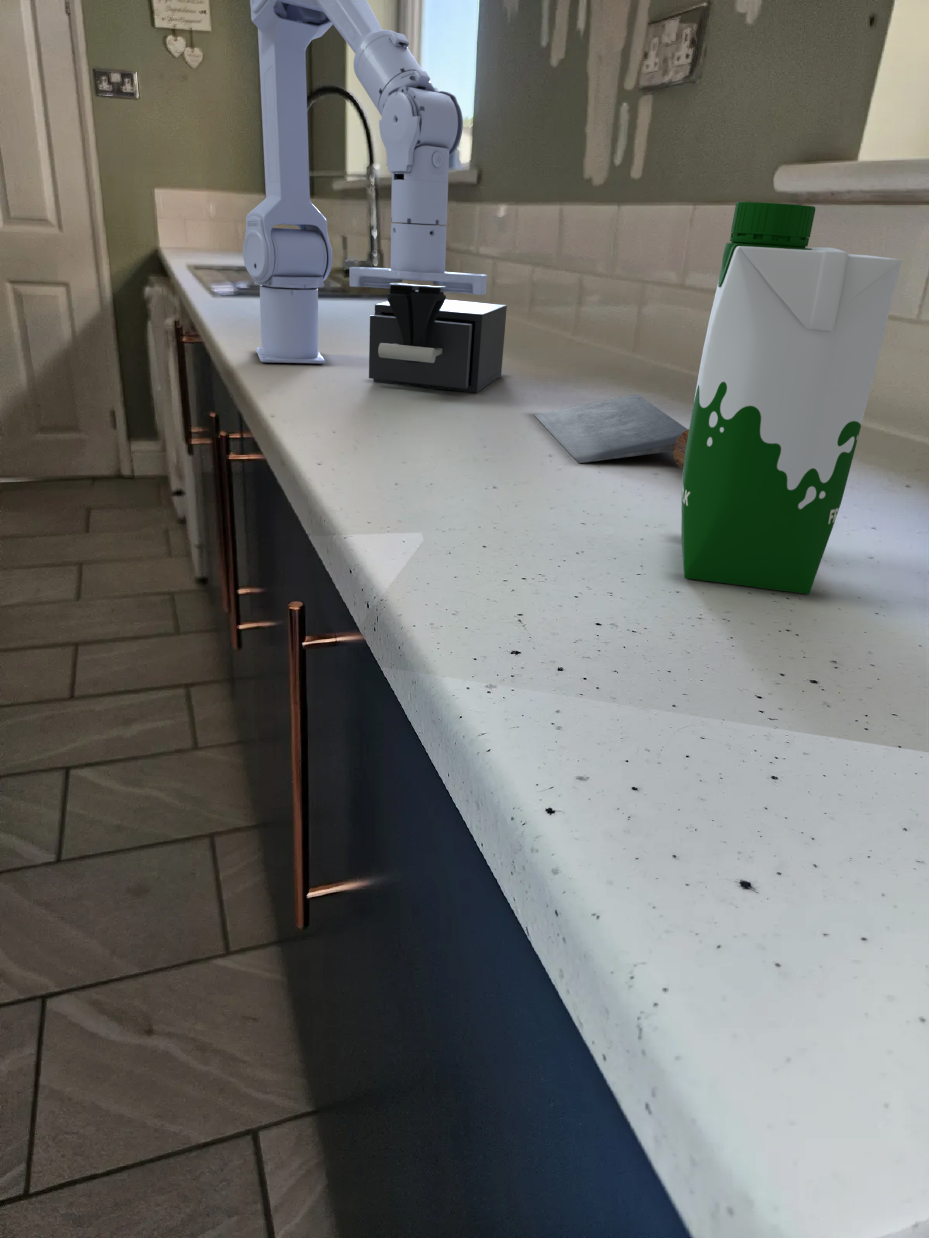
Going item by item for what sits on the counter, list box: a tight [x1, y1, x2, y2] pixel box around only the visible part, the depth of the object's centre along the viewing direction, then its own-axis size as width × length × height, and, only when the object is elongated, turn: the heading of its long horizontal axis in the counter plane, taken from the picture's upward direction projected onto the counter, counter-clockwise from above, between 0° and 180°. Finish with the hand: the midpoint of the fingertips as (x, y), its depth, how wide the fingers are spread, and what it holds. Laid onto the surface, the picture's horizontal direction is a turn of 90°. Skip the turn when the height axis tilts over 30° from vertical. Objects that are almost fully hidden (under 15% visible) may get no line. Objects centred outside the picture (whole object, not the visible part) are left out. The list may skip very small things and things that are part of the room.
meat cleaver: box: [534, 394, 689, 470], centre depth 76 cm, size 34×11×4 cm, turn 8°
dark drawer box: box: [368, 313, 475, 389], centre depth 100 cm, size 17×11×7 cm, turn 166°
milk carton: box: [680, 201, 903, 595], centre depth 49 cm, size 9×9×20 cm
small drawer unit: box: [372, 299, 508, 394], centre depth 105 cm, size 14×13×9 cm
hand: (415, 361), depth 95 cm, fingers closed, pressing on dark drawer box
